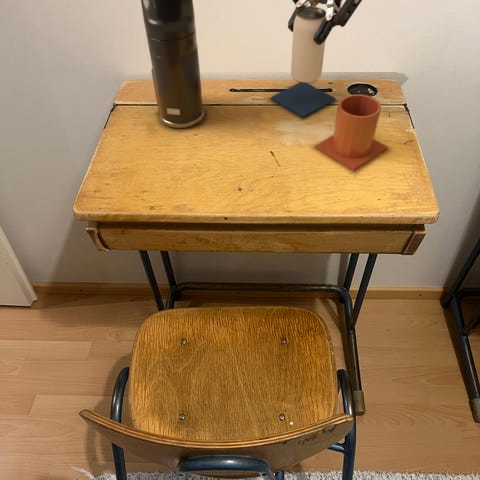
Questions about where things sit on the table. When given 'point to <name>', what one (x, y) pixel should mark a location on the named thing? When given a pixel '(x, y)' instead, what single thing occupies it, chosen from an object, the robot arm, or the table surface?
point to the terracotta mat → (351, 162)
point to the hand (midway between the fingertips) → (303, 36)
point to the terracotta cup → (355, 125)
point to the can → (307, 45)
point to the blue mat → (303, 99)
